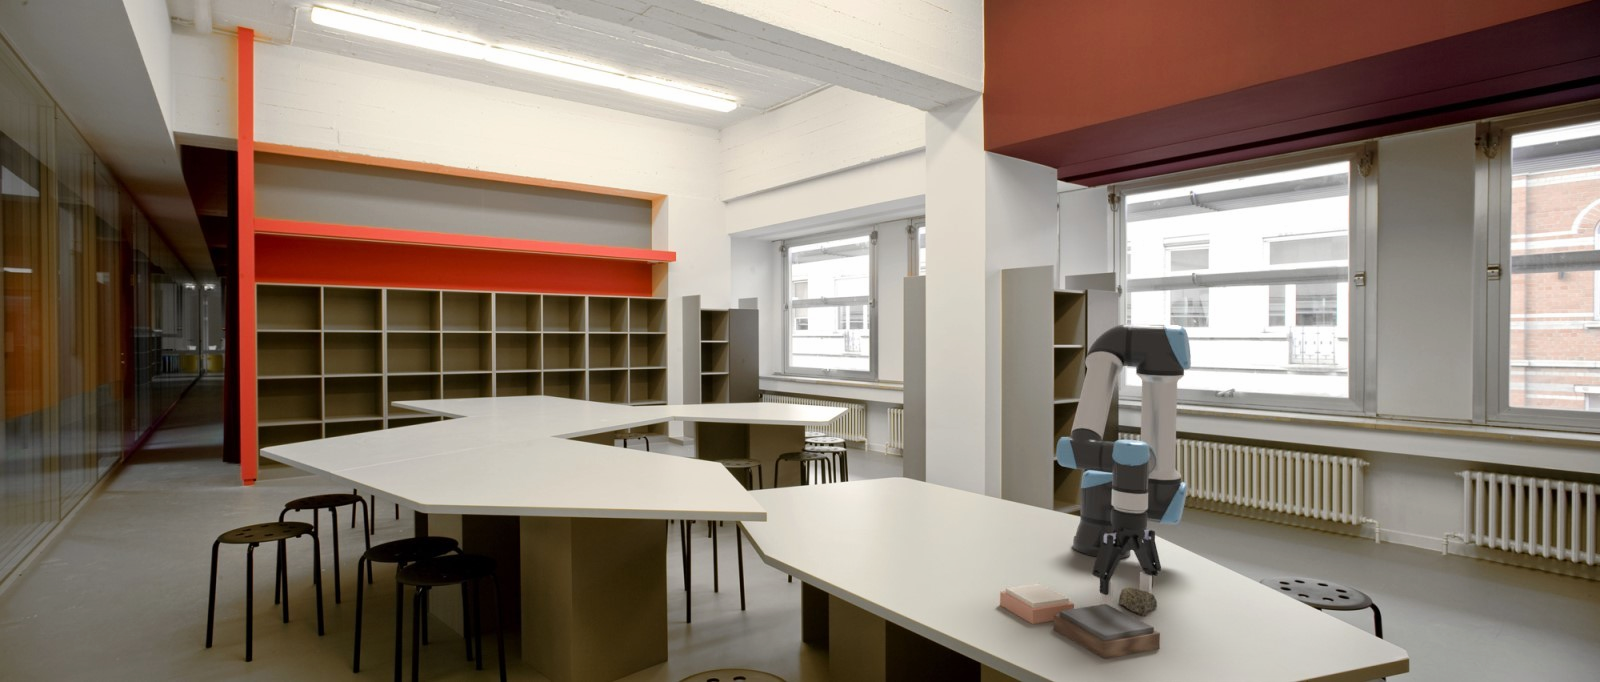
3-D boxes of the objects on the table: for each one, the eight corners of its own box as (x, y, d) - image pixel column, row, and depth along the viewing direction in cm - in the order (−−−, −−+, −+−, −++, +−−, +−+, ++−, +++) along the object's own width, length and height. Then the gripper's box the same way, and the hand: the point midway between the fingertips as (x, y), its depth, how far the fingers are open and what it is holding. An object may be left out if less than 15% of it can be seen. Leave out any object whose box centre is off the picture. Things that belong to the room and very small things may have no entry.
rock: (1111, 607, 161) (1112, 588, 161) (1125, 599, 167) (1126, 580, 166) (1144, 617, 156) (1144, 597, 156) (1157, 608, 161) (1158, 588, 161)
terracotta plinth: (1039, 599, 165) (1039, 581, 165) (1073, 617, 155) (1074, 599, 155) (1000, 604, 161) (1000, 587, 161) (1032, 624, 151) (1033, 605, 151)
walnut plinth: (1105, 620, 154) (1105, 602, 153) (1159, 648, 140) (1160, 628, 140) (1053, 629, 148) (1054, 610, 148) (1104, 658, 135) (1105, 637, 135)
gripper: (1153, 501, 170) (1150, 593, 170) (1076, 508, 161) (1073, 604, 161) (1181, 509, 163) (1177, 604, 163) (1102, 516, 154) (1098, 617, 154)
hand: (1126, 605), depth 162 cm, fingers open, 11 cm apart
